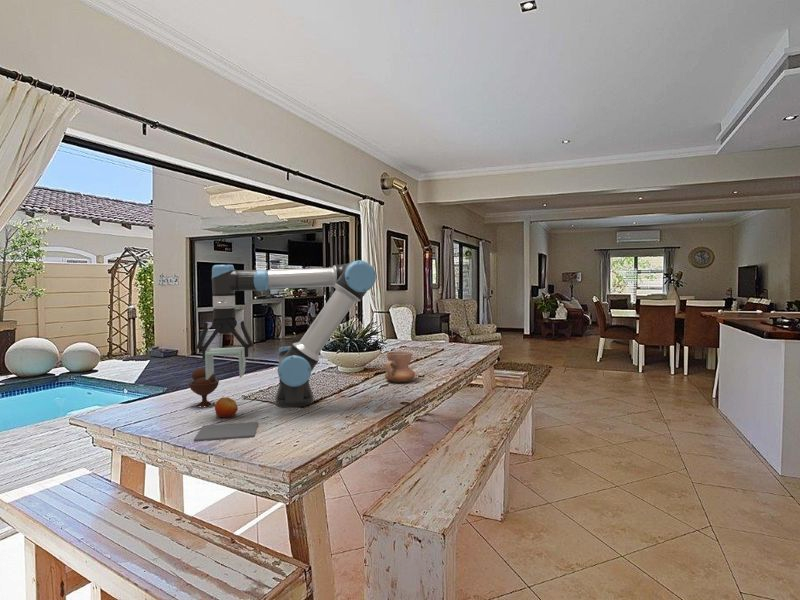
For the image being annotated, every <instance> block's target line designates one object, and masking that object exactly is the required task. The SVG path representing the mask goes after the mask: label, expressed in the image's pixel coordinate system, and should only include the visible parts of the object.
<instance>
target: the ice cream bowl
mask: <svg viewBox="0 0 800 600" xmlns="http://www.w3.org/2000/svg"><path fill="white" fill-rule="evenodd" d="M191 378H192V379H193V380H191V381H190V382H188V387H189V388H190V390H191V392H193V393H195V394H197V395H198V396H201V401H200V402H198V404H197V407H198V406H201V407H200V408H205V407H204V406H208V407H210V405H211V406H212V405H213V403H212V402H210V401H208V396H209V395H210V394H212V393H214V391H215V390H216V389H217V388H218V386H219V382H220V380H219V379H217V378H216V375H215V374H214V373H213V374H212V375H211V376H210V377H209V379H207V380H206V370H205V367H204V368H203V367H200V368H197V369H195V370H193V371H192V374H191Z"/></svg>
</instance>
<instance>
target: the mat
mask: <svg viewBox="0 0 800 600" xmlns="http://www.w3.org/2000/svg"><path fill="white" fill-rule="evenodd" d="M258 425H259V421H253V422H252V421H251V422H236V423H235V422H234V423H222V424H221V423H220V424H205V425H202V426H201V427H200V429H199V431H198V432H197V433H196V435H195V437H194V438H193V442H203V441H204V440H207V441H217V440H218V441H219V440H228V439H229V440H230V439H231V440H232V439H245V438H255V436H256V433H257V429H258Z"/></svg>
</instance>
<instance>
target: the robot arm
mask: <svg viewBox="0 0 800 600" xmlns="http://www.w3.org/2000/svg"><path fill="white" fill-rule="evenodd" d="M374 268H375V267H373V266H372V265H371V264H370V263H369V262H367V261H364V260H361V259H358V260H355V261H352V262H348V263H344V264H334V265H332V267H316V268H315V267H314V268H287V269H268V270H267V269H265V270H264V269H244V270H243V269H242V270H240V269H239V270H238V269H235V268H234V265H233V264H214V265H212V268H211V283H212V284H211V288H212V307H213V311H212V313H213V314H212V315H213V317H212V318H213V319H212V322H211V321H209V322H208V321H206V322H204V323H203V330H202V332H201V335H200V338H199V340H198V343H197V345H196V349H197V350H201V353H202V355H201V356H202V359H203V360H205V353H206V352H208V351H209V350H210V349H208V348H209V346H210V345H211V343H212V342H213V340H215V338H216V337H217V335H218V334H219V335H220V334H222V335H223V334H232V335H233V337H235V338H236V340H237V341H238V342H239V343H240V344H241V347H244V348H243V349H242V360H243V367H245V368H246V363H247V361H246V358H248V357H249V348H251V347H253V346H254V343H253V340H252V338H251V336H250V334H249V332H248V329H247V327H246V321H245V320H242V321H240V320H239V321H237V319H236V317H237V316H236V308H235V307H236V295H235V293H236V292H240V291H241V292H242V291H243V292H244V291H245V292H246V291H247V292H249V291H250V292H253V291H258V292H261V291H267V290H276V289H277V290H278V289H300V288H302V289H303V288H305V289H306V288H323V287H333V288H334V289H335V290H334V292H333V293H332V295H331V296H330V298H329V299H328V300H327V302H326V303H325V304H324V306H323V307H322V309H321V310H320V312H319V313H318V314H317V316H316V318H315V319H314V320H313V322H312V323H311V324H310V325H309V327H308V328H307V331H306V332H305V333H303V334H304V335H303V336H302V337H301V339H300V340H299V341H298V342H293V343H292V345H289V346H288V345H287V346H281V347H279V348H278V366H277V375H278V377H279V378H278V379H279V380H278V381H279V385H278V389H277V391H276V395H275V398H274V400H275V401H274V403H275V404H274V405H276V406H278V407H281V408H282V407H283V408H299V407H305V406H309V405H311V404H312V403H314V400H315V399H314V397H315V396H314V393H313V391H312V388H311V385H310V378H311V374H312V371H313V370H314V368H315V367H316V366H317V364H318V363H319V361H320V358H319V354H320V352H321V351H322V350H323V348H324V347H325V345H326V344H327V343H328V341H329V340H330V338H331V337H332V335H333V334H334V333H335V331H336V330H337V328H338V327H339V325H340V324H341V323H342V321H343V320H344V318H345V316H347V314H348V312H349V311H350V309H352V307H353V305H354V304H355V303H357V302H361V301H362V300H363V298H364V296H365V295H366V294H367V293H368V291H369V290H371V289H372V288H373V287H374V285H375V284H376V281H377V275H376V274H377V273H376V270H375V269H374ZM237 325H238V327H239V328H240V329H241V331H242V333H243V335H244V337H245V339H246V341H245V340H244V338H243V337H242V336H241V335H240V334H239V333H238V331H237V329H236V327H237ZM211 327H213V329H215V330H213V332H212V334H211V335H210V337H209V338H208V339H207V340H206V342H205V343H204V341H205V339H206V336H207V333H208V331H209V329H210V328H211Z"/></svg>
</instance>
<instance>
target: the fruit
mask: <svg viewBox="0 0 800 600" xmlns="http://www.w3.org/2000/svg"><path fill="white" fill-rule="evenodd" d="M238 408H239V407H238V404H237V402H236V401H235V399H233V398H230V397H229V396H228V397H220V398H219V399H218V400H217V401H216V402H215V405H214V411H215V415H216V417H215V418H216V419H217V418H222V419H230V418H232V417H234V416H235V414H237V412H238Z"/></svg>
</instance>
